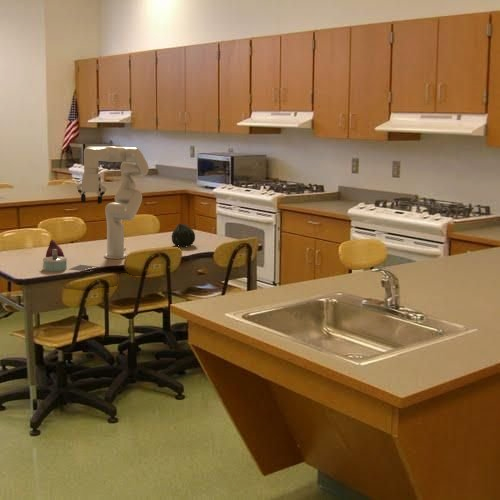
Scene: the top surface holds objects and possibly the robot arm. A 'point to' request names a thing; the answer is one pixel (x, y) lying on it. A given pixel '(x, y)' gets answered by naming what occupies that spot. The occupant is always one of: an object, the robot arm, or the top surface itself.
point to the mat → (81, 267)
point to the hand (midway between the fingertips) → (91, 202)
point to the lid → (54, 258)
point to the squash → (183, 235)
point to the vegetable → (54, 246)
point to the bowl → (55, 266)
